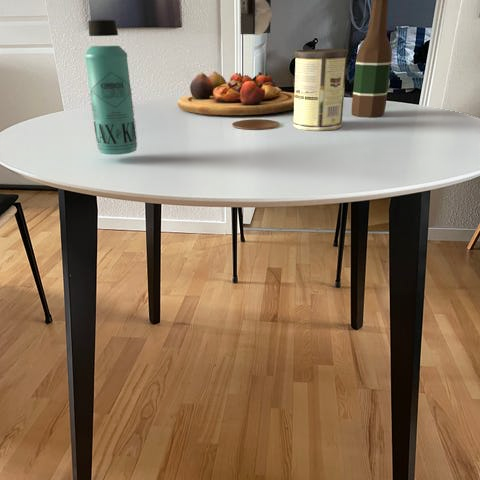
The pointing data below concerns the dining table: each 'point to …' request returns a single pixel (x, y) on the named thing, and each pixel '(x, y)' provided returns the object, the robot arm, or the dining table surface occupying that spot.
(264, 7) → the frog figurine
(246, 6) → the robot arm
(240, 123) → the coaster
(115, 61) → the beverage bottle
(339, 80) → the coffee can
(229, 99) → the wooden plate
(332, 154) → the dining table surface
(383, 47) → the beer bottle
